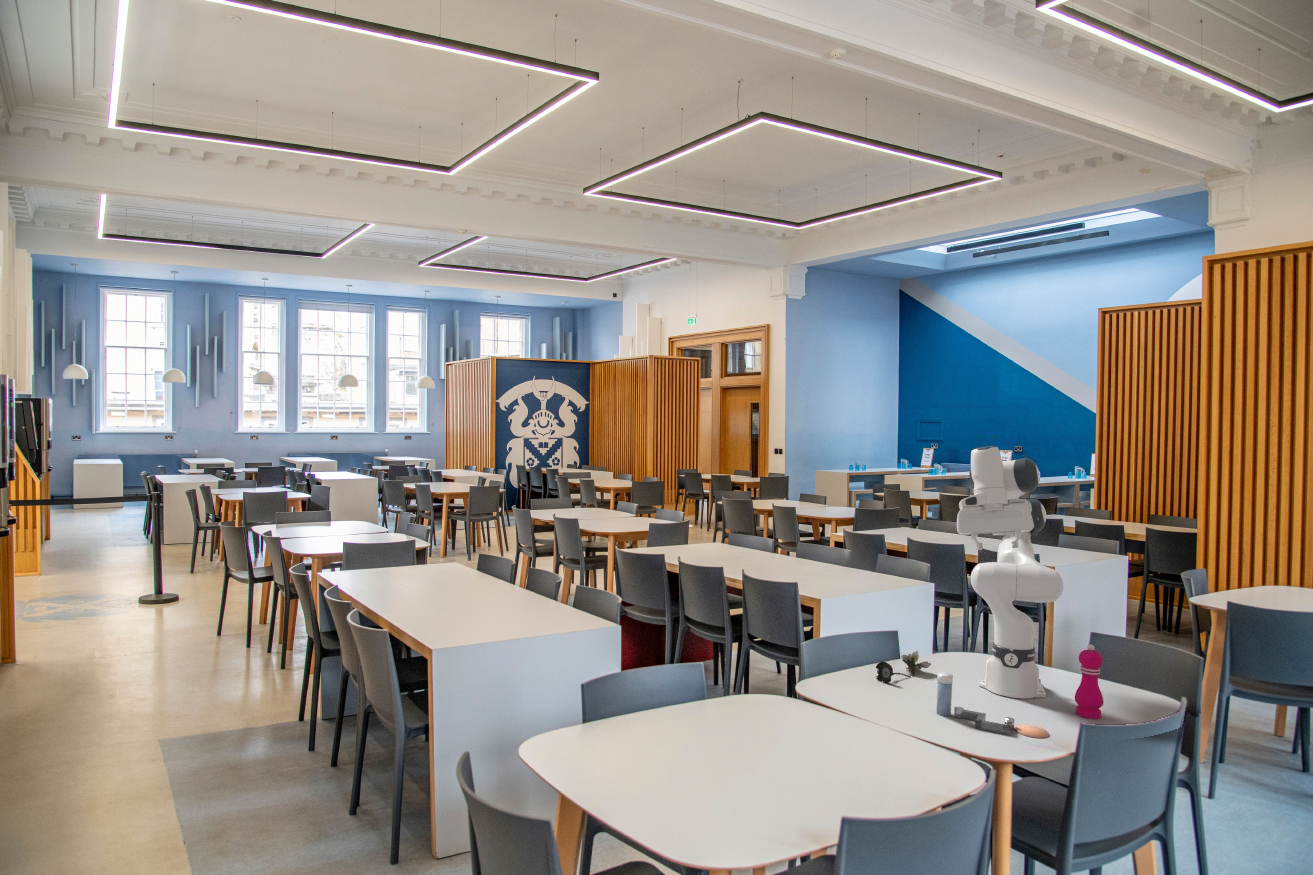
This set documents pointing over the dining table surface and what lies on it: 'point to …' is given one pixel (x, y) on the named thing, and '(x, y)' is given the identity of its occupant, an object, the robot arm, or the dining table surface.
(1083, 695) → the pepper mill
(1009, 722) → the rail
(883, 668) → the artificial flower
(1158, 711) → the dining table surface
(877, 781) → the dining table surface
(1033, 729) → the coaster
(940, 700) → the shaker
